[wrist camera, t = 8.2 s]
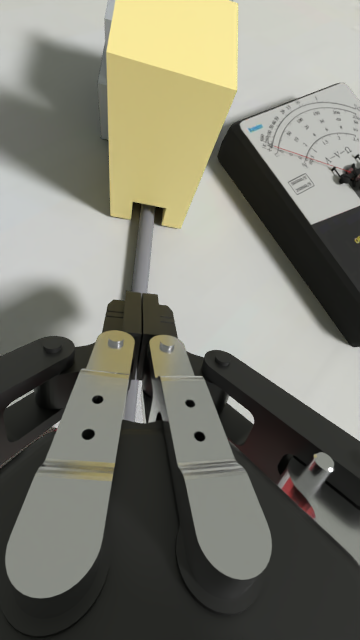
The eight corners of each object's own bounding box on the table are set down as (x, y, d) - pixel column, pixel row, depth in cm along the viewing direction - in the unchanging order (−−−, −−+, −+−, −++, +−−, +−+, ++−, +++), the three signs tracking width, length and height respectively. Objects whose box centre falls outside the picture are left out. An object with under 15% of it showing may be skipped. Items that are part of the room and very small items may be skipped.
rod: (145, 445, 17) (150, 455, 14) (100, 444, 16) (97, 454, 14) (175, 93, 24) (182, 59, 21) (144, 85, 23) (148, 49, 21)
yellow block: (180, 228, 20) (237, 90, 11) (110, 215, 19) (106, 51, 10) (184, 171, 22) (238, 3, 12) (118, 156, 21) (122, -39, 11)
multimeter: (349, 351, 22) (413, 341, 17) (212, 159, 23) (236, 101, 19) (436, 275, 26) (507, 250, 21) (314, 115, 28) (356, 59, 23)
